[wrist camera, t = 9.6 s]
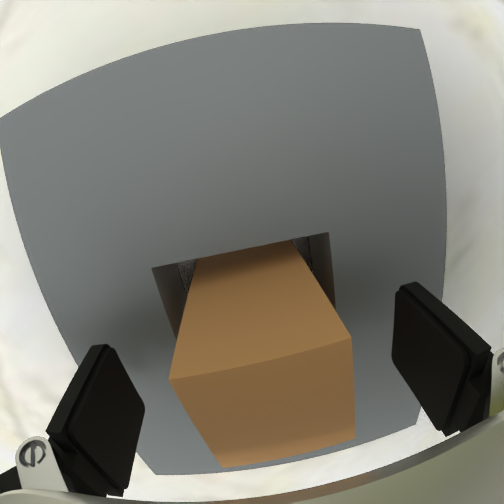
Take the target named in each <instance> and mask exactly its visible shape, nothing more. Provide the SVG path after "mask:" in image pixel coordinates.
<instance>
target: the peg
mask: <svg viewBox="0 0 504 504" xmlns="http://www.w3.org/2000/svg"><path fill="white" fill-rule="evenodd" d="M168 380H169V382H170V384H171V386H172V387H173V389H174V391H175V393H176V395H177V396H178V398H179V400H180V402H181V403H182V405H183V407H184V409H185V410H186V412H187V414H188V415H189V417H190V419H191V420H192V422H193V424H194V425H195V427H196V428H197V430H198V432H199V433H200V435H201V436H202V438H203V440H204V441H205V443H206V444H207V446H208V447H209V449H210V450H211V452H212V453H213V455H214V456H215V458H216V459H217V461H218V462H219V464H220V465H221V467H222V468H227V467H235V466H242V465H248V464H254V463H260V462H266V461H271V460H276V459H281V458H286V457H290V456H295V455H299V454H303V453H307V452H311V451H315V450H319V449H322V448H326V447H329V446H333V445H336V444H339V443H343V442H346V441H349V440H352V439H355V391H354V369H353V352H352V337H351V336H350V334H349V332H348V331H347V329H346V327H345V326H344V324H343V322H342V321H341V319H340V317H339V316H338V314H337V312H336V311H335V309H334V308H333V306H332V304H331V303H330V301H329V299H328V298H327V296H326V294H325V293H324V291H323V290H322V288H321V286H320V285H319V283H318V282H317V280H316V278H315V277H314V275H313V274H312V272H311V270H310V269H309V267H308V266H307V264H306V262H305V261H304V259H303V258H302V256H301V255H300V253H299V251H298V250H297V248H296V247H295V245H294V244H293V242H292V241H291V239H290V240H286V241H281V242H276V243H271V244H266V245H261V246H256V247H251V248H246V249H241V250H236V251H231V252H226V253H221V254H217V255H212V256H207V257H202V258H197V262H196V266H195V269H194V273H193V277H192V281H191V285H190V289H189V293H188V297H187V301H186V305H185V309H184V313H183V317H182V321H181V325H180V329H179V334H178V338H177V342H176V347H175V351H174V355H173V360H172V364H171V369H170V374H169V378H168Z"/></svg>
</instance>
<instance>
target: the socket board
mask: <svg viewBox="0 0 504 504" xmlns="http://www.w3.org/2000/svg"><path fill="white" fill-rule="evenodd" d="M0 148H1V155H2V160H3V166H4V171H5V176H6V181H7V185H8V190H9V194H10V198H11V202H12V206H13V210H14V213H15V217H16V221H17V224H18V227H19V231H20V234H21V237H22V240H23V243H24V246H25V249H26V252H27V255H28V258H29V261H30V264H31V266H32V269H33V272H34V274H35V277H36V279H37V282H38V284H39V287H40V289H41V292H42V294H43V297H44V299H45V301H46V303H47V306H48V308H49V310H50V312H51V315H52V317H53V319H54V321H55V323H56V325H57V327H58V329H59V331H60V333H61V335H62V337H63V339H64V341H65V343H66V345H67V347H68V349H69V351H70V352H71V354H72V356H73V358H74V360H75V362H76V363H77V365H78V367H79V366H80V364H81V363H82V361H83V359H84V357H85V356H86V354H87V352H88V350H89V349H90V347H91V346H92V345H99V344H108V345H109V346H110V347H112V348H114V349H115V350H116V352H117V354H118V356H119V358H120V360H121V362H122V364H123V366H124V368H125V370H126V372H127V373H128V375H129V377H130V379H131V381H132V383H133V385H134V386H135V388H136V390H137V392H138V393H139V395H140V397H141V399H142V400H143V402H144V405H145V414H144V419H143V423H142V427H141V431H140V435H139V440H138V444H137V448H136V452H137V453H138V455H139V456H140V457H141V458H142V459H143V461H144V462H145V463H146V464H147V465H148V467H149V468H150V469H151V470H152V471H153V472H154V473H155V475H190V474H208V473H221V472H231V471H240V470H248V469H255V468H262V467H268V466H274V465H280V464H285V463H291V462H295V461H300V460H305V459H309V458H313V457H318V456H322V455H326V454H329V453H333V452H337V451H340V450H344V449H347V448H351V447H354V446H357V445H361V444H364V443H367V442H370V441H373V440H376V439H379V438H381V437H384V436H387V435H390V434H392V433H395V432H398V431H400V430H403V429H405V428H408V427H410V426H412V425H415V424H416V422H417V419H418V415H419V412H420V408H421V405H420V403H419V401H418V400H417V398H416V397H415V395H414V394H413V392H412V391H411V389H410V388H409V386H408V385H407V383H406V382H405V380H404V379H403V377H402V376H401V374H400V373H399V371H398V370H397V368H396V367H395V365H394V364H393V361H392V357H391V352H392V340H393V326H394V308H395V293H396V291H399V288H400V286H401V285H404V284H408V283H411V282H415V281H416V282H418V283H420V284H421V285H422V286H423V287H424V288H426V289H427V290H428V291H429V292H430V293H431V294H433V295H434V296H435V297H436V298H437V299H439V300H440V301H441V302H442V294H443V284H444V272H445V257H446V228H447V208H446V179H445V164H444V152H443V142H442V134H441V126H440V119H439V112H438V106H437V100H436V95H435V89H434V84H433V79H432V75H431V70H430V66H429V62H428V58H427V54H426V50H425V46H424V42H423V39H422V35H421V32H420V29H413V28H405V27H397V26H387V25H376V24H359V23H304V24H287V25H275V26H265V27H256V28H248V29H241V30H234V31H228V32H222V33H217V34H212V35H207V36H202V37H197V38H193V39H188V40H184V41H180V42H176V43H172V44H168V45H165V46H161V47H157V48H154V49H151V50H147V51H144V52H141V53H138V54H135V55H132V56H129V57H126V58H123V59H120V60H117V61H115V62H112V63H109V64H107V65H104V66H101V67H99V68H96V69H94V70H91V71H89V72H87V73H84V74H82V75H80V76H77V77H75V78H73V79H71V80H69V81H66V82H64V83H62V84H60V85H58V86H56V87H54V88H52V89H50V90H48V91H46V92H44V93H42V94H40V95H39V96H37V97H35V98H33V99H31V100H29V101H28V102H26V103H24V104H22V105H21V106H19V107H17V108H16V109H14V110H12V111H11V112H9V113H7V114H6V115H4V116H2V117H1V118H0ZM305 236H308V238H309V245H310V253H311V261H312V269H313V275H314V277H315V278H316V280H317V282H318V283H319V285H320V286H321V288H322V290H323V291H324V293H325V294H326V296H327V298H328V299H329V301H330V303H331V304H332V306H333V308H334V309H335V311H336V312H337V314H338V316H339V317H340V319H341V321H342V322H343V324H344V326H345V327H346V329H347V331H348V332H349V334H350V336H351V337H352V352H353V369H354V391H355V439H352V440H349V441H346V442H343V443H339V444H336V445H333V446H329V447H326V448H322V449H319V450H315V451H311V452H307V453H303V454H299V455H295V456H290V457H286V458H281V459H276V460H271V461H266V462H260V463H254V464H248V465H242V466H235V467H227V468H222V467H221V465H220V464H219V462H218V461H217V459H216V458H215V456H214V455H213V453H212V452H211V450H210V449H209V447H208V446H207V444H206V443H205V441H204V440H203V438H202V436H201V435H200V433H199V432H198V430H197V428H196V427H195V425H194V424H193V422H192V420H191V419H190V417H189V415H188V414H187V412H186V410H185V409H184V407H183V405H182V403H181V402H180V400H179V398H178V396H177V395H176V393H175V391H174V389H173V387H172V386H171V384H170V382H169V380H168V378H169V374H170V369H171V364H172V360H173V355H174V351H175V347H176V342H177V338H178V334H179V329H180V325H181V321H182V317H183V313H184V309H185V305H186V301H187V296H186V293H185V290H184V286H183V283H182V280H181V276H180V273H179V270H178V266H177V263H178V262H182V261H187V260H192V259H197V258H202V257H207V256H212V255H217V254H221V253H226V252H231V251H236V250H241V249H246V248H251V247H256V246H261V245H266V244H271V243H276V242H281V241H286V240H290V239H295V238H300V237H305Z"/></svg>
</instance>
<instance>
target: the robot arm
mask: <svg viewBox="0 0 504 504" xmlns="http://www.w3.org/2000/svg"><path fill="white" fill-rule="evenodd" d="M490 350H491V346H490V345H489V344H487V343H486V342H485V341H484V340H483V339H482V338H481V337H480V336H479V335H478V334H477V333H476V332H475V331H474V330H472V329H471V328H470V327H469V326H468V325H467V324H466V323H465V322H464V321H463V320H461V319H460V318H459V317H458V316H457V315H456V314H455V313H454V312H452V311H451V310H450V309H449V308H448V307H447V306H446V305H444V304H443V303H442V302H441V301H440V300H439V299H437V298H436V297H435V296H434V295H433V294H431V293H430V292H429V291H428V290H427V289H426V288H424V287H423V286H422V285H421V284H420V283H418V282H416V281H415V282H411V283H408V284H404V285H401V286H400V288H399V291H396V293H395V308H394V326H393V340H392V352H391V357H392V361H393V364H394V365H395V367H396V368H397V370H398V371H399V373H400V374H401V376H402V377H403V379H404V380H405V382H406V383H407V385H408V386H409V388H410V389H411V391H412V392H413V394H414V395H415V397H416V398H417V400H418V401H419V403H420V405H421V406H422V408H423V409H424V411H425V412H426V414H427V416H428V417H429V419H430V420H431V422H432V423H433V425H434V427H435V428H436V429H437V430H438V431H440V430H442V432H443V433H444V435H445V437H447V436H449V435H451V434H453V433H455V432H457V431H458V430H459V431H460V432H461V433H459V434H457V435H455V436H453V437H451V438H449V439H447V440H445V441H443V442H441V443H439V444H437V445H435V446H432V447H430V448H428V449H426V450H424V451H421V452H419V453H417V454H414V455H412V456H410V457H407V458H405V459H402V460H400V461H397V462H395V463H392V464H389V465H387V466H384V467H381V468H378V469H375V470H372V471H369V472H366V473H363V474H360V475H357V476H354V477H350V478H347V479H343V480H340V481H336V482H332V483H328V484H325V485H320V486H316V487H312V488H307V489H303V490H298V491H293V492H287V493H282V494H276V495H269V496H262V497H255V498H247V499H237V500H225V501H209V502H152V501H136V500H125V499H115V498H106V496H107V494H108V495H111V496H119V497H123V493H124V489H127V488H128V485H129V481H130V476H131V471H132V466H133V462H134V457H135V453H136V448H137V444H138V440H139V435H140V431H141V427H142V423H143V419H144V414H145V405H144V402H143V400H142V399H141V397H140V395H139V393H138V392H137V390H136V388H135V386H134V385H133V383H132V381H131V379H130V377H129V375H128V373H127V372H126V370H125V368H124V366H123V364H122V362H121V360H120V358H119V356H118V354H117V352H116V350H115V349H114V348H112V347H110V346H109V345H108V344H99V345H92V346H91V347H90V349H89V350H88V352H87V354H86V356H85V357H84V359H83V361H82V363H81V364H80V366H79V368H78V370H77V371H76V373H75V375H74V377H73V379H72V381H71V382H70V384H69V386H68V388H67V390H66V392H65V394H64V396H63V397H62V399H61V401H60V403H59V405H58V407H57V409H56V411H55V413H54V415H53V417H52V419H51V421H50V423H49V425H48V427H47V429H46V432H47V434H48V435H49V436H50V437H49V439H48V440H47V439H45V438H44V437H40V436H35V437H31V438H28V439H27V440H25V441H24V442H23V443H22V444H21V445H20V446H19V448H18V450H17V452H16V456H15V461H16V466H15V467H13V468H11V469H10V470H8V471H6V472H4V473H2V474H0V504H504V348H502V349H500V350H498V351H497V352H496V353H495V355H494V354H493V353H492V352H491V351H490Z"/></svg>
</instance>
